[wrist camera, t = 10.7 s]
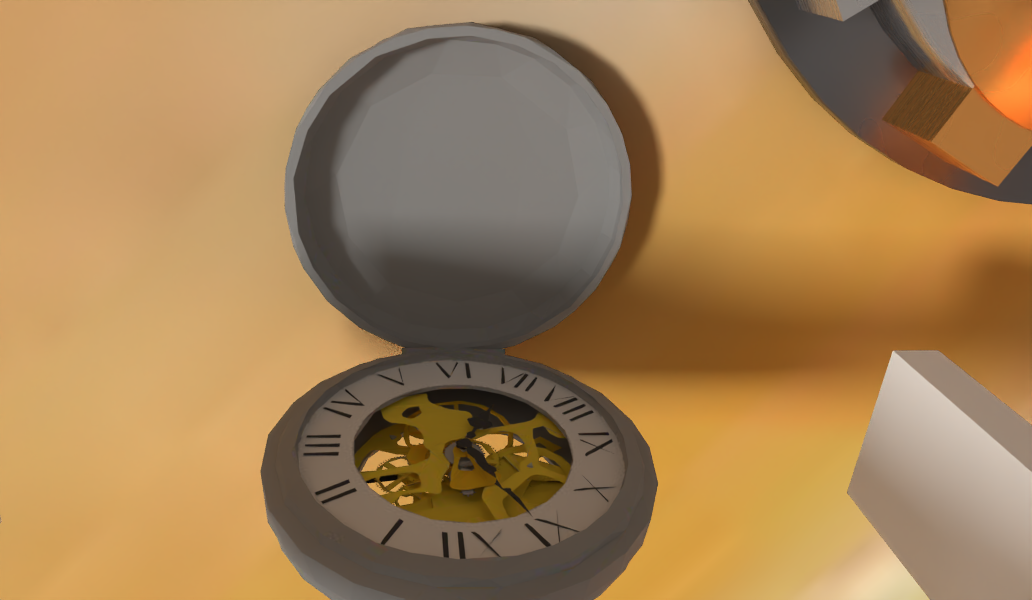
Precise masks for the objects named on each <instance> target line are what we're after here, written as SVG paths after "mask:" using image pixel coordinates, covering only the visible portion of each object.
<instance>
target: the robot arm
mask: <svg viewBox="0 0 1032 600" xmlns="http://www.w3.org/2000/svg"><path fill="white" fill-rule="evenodd" d="M847 493H848V495H849V496H850V497H851V498H852V500H853V501H854V502H855V504H856V505H857V506H858V507H859V509H860V510H861V511H862V513H863V514H864V515H865V516H866V518H867V519H868V520H869V522H870V523H871V524H872V526H873V527H874V528H875V529H876V531H877V532H878V533H879V535H880V536H881V537H882V538H883V540H884V541H885V542H886V544H887V545H888V546H889V547H890V549H891V550H892V551H893V553H894V554H895V555H896V556H897V558H898V559H899V560H900V562H901V563H902V564H903V565H904V567H905V568H906V569H907V571H908V572H909V573H910V574H911V576H912V577H913V578H914V580H915V581H916V582H917V583H918V585H919V586H920V587H921V589H922V590H923V591H924V592H925V594H926V595H927V596H928V598H929V599H930V600H1032V425H1031V424H1030V423H1028V422H1027V421H1026V420H1025V419H1023V418H1022V417H1021V416H1020V415H1018V414H1017V413H1016V412H1015V411H1013V410H1012V409H1011V408H1010V407H1008V406H1007V405H1006V404H1005V403H1003V402H1002V401H1001V400H1000V399H998V398H997V397H996V396H995V395H993V394H992V393H991V392H990V391H988V390H987V389H986V388H985V387H983V386H982V385H981V384H980V383H978V382H977V381H976V380H975V379H973V378H972V377H971V376H970V375H968V374H967V373H966V372H965V371H963V370H962V369H961V368H960V367H958V366H957V365H956V364H955V363H953V362H952V361H951V360H950V359H948V358H947V357H946V356H945V355H943V354H942V353H941V352H940V351H938V350H906V351H893V352H892V355H891V358H890V361H889V364H888V368H887V371H886V374H885V377H884V380H883V383H882V386H881V389H880V392H879V395H878V398H877V401H876V404H875V408H874V411H873V414H872V417H871V420H870V423H869V426H868V429H867V432H866V435H865V438H864V441H863V444H862V448H861V451H860V454H859V457H858V460H857V463H856V466H855V469H854V472H853V475H852V478H851V481H850V485H849V488H848V491H847ZM0 523H1V517H0Z"/></svg>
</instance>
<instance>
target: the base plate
mask: <svg viewBox="0 0 1032 600" xmlns="http://www.w3.org/2000/svg"><path fill="white" fill-rule="evenodd" d="M748 1H749V3H750V5H751V7H752V8H753V10H754V12H755V14H756V16H757V17H758V19H759V21H760V23H761V25H762V26H763V28H764V30H765V32H766V34H767V36H768V37H769V39H770V41H771V43H772V45H773V46H774V48H775V50H776V52H777V53H778V55H779V56H780V57H781V59H782V60H783V61H784V62H785V64H786V65H787V66H788V68H789V69H790V70H791V71H792V73H793V74H794V75H795V77H796V78H797V79H798V81H799V82H800V83H801V84H802V86H803V87H804V88H805V90H806V91H807V92H808V93H809V95H810V96H811V97H812V98H813V99H814V100H815V101H816V102H817V103H818V104H819V105H820V106H821V107H822V108H823V109H825V110H826V111H827V112H828V113H829V114H830V115H831V116H832V117H833V118H834V119H835V120H836V121H837V122H838V123H840V124H841V125H842V126H843V127H844V128H845V129H846V130H847V131H848V132H849V133H851V134H852V135H854V136H855V137H857V138H858V139H860V140H861V141H863V142H864V143H866V144H867V145H869V146H870V147H872V148H873V149H875V150H876V151H878V152H879V153H881V154H882V155H884V156H885V157H887V158H888V159H890V160H891V161H893V162H895V163H897V164H899V165H901V166H903V167H905V168H907V169H909V170H911V171H913V172H916V173H918V174H920V175H922V176H925V177H927V178H929V179H931V180H934V181H936V182H938V183H940V184H943V185H945V186H947V187H949V188H952V189H955V190H959V191H963V192H967V193H971V194H975V195H978V196H982V197H986V198H990V199H994V200H998V201H1004V202H1014V203H1024V204H1032V146H1031V147H1030V149H1029V150H1028V151H1027V152H1026V153H1025V155H1024V156H1023V157H1022V158H1021V159H1020V161H1019V162H1018V163H1017V164H1016V165H1015V167H1014V168H1013V169H1012V170H1011V171H1010V173H1009V174H1008V175H1007V176H1006V177H1005V179H1004V180H1003V181H1002V182H1001V183H1000V185H999V186H998V187H997V186H995V185H993V184H991V183H989V182H987V181H985V180H983V179H981V178H979V177H977V176H975V175H972V174H970V173H968V172H966V171H964V170H962V169H960V168H958V167H956V166H954V165H952V164H949V163H947V162H945V161H944V160H942V159H941V158H939V157H937V156H936V155H934V154H933V153H931V152H930V151H928V150H927V149H925V148H924V147H922V146H921V145H919V144H918V143H916V142H915V141H913V140H912V139H910V138H909V137H907V136H906V135H904V134H903V133H901V132H900V131H898V130H897V129H895V128H894V127H892V126H891V125H889V124H888V123H886V122H885V121H883V120H882V118H883V117H884V116H885V114H886V113H887V112H888V110H889V109H890V108H891V106H892V105H893V104H894V102H895V101H896V100H897V98H898V97H899V96H900V94H901V93H902V92H903V90H904V89H905V88H906V86H907V85H908V84H909V82H910V81H911V80H912V78H913V77H914V76H915V74H916V73H917V72H918V70H917V69H916V68H914V67H913V66H912V64H911V63H910V62H909V61H908V60H907V58H906V57H905V56H904V55H903V54H902V52H901V51H900V50H899V49H898V48H897V46H896V45H895V44H894V43H893V42H892V40H891V39H890V38H889V37H888V36H887V34H886V33H885V32H884V31H883V30H882V28H881V26H880V25H879V23H878V21H877V19H876V18H875V16H874V14H873V13H872V11H871V9H870V8H869V6H868V7H867V8H865V9H863V10H862V11H860V12H858V13H857V14H855V15H853V16H852V17H850V18H848V19H847V20H845V21H840V20H837V19H833V18H829V17H825V16H822V15H818V14H814V13H811V12H807V11H803V10H800V9H799V8H798V6H797V3H796V0H748Z"/></svg>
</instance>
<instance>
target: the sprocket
mask: <svg viewBox="0 0 1032 600" xmlns="http://www.w3.org/2000/svg"><path fill="white" fill-rule="evenodd" d="M796 3H797V6H798V8H799V9H800V10H803V11H807V12H811V13H814V14H818V15H822V16H825V17H829V18H833V19H837V20H840V21H845V20H847V19H848V18H850V17H852V16H853V15H855V14H857V13H858V12H860V11H862V10H863V9H865V8H867V7H868V6H869V8H870V9H871V11H872V13H873V14H874V16H875V18H876V19H877V21H878V23H879V25H880V26H881V28H882V30H883V31H884V32H885V33H886V34H887V36H888V37H889V38H890V39H891V40H892V42H893V43H894V44H895V45H896V46H897V48H898V49H899V50H900V51H901V52H902V54H903V55H904V56H905V57H906V58H907V60H908V61H909V62H910V63H911V64H912V66H913V67H914V68H916V69H917V70H918V72H917V73H916V74H915V76H914V77H913V78H912V80H911V81H910V82H909V84H908V85H907V86H906V88H905V89H904V90H903V92H902V93H901V94H900V96H899V97H898V98H897V100H896V101H895V102H894V104H893V105H892V106H891V108H890V109H889V110H888V112H887V113H886V114H885V116H884V117H883V118H882V120H883V121H885V122H886V123H888V124H889V125H891V126H892V127H894V128H895V129H897V130H898V131H900V132H901V133H903V134H904V135H906V136H907V137H909V138H910V139H912V140H913V141H915V142H916V143H918V144H919V145H921V146H922V147H924V148H925V149H927V150H928V151H930V152H931V153H933V154H934V155H936V156H937V157H939V158H941V159H942V160H944V161H945V162H947V163H949V164H952V165H954V166H956V167H958V168H960V169H962V170H964V171H966V172H968V173H970V174H972V175H975V176H977V177H979V178H981V179H983V180H985V181H987V182H989V183H991V184H993V185H995V186H997V187H998V186H999V185H1000V183H1001V182H1002V181H1003V180H1004V179H1005V177H1006V176H1007V175H1008V174H1009V173H1010V171H1011V170H1012V169H1013V168H1014V167H1015V165H1016V164H1017V163H1018V162H1019V161H1020V159H1021V158H1022V157H1023V156H1024V155H1025V153H1026V152H1027V151H1028V150H1029V149H1030V147H1031V146H1032V0H796Z"/></svg>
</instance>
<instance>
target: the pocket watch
mask: <svg viewBox="0 0 1032 600" xmlns="http://www.w3.org/2000/svg"><path fill="white" fill-rule="evenodd" d="M631 197H632V194H631V175H630V163H629V159H628V155H627V151H626V147H625V144H624V140H623V136H622V133H621V131H620V129H619V127H618V125H617V123H616V121H615V119H614V117H613V115H612V113H611V111H610V109H609V107H608V105H607V103H606V102H605V100H604V99H603V97H602V96H601V95H600V93H599V92H598V90H597V89H596V87H595V86H594V85H593V83H592V82H591V80H590V79H589V78H587V77H586V76H585V75H584V74H582V73H581V72H580V71H579V70H577V69H576V68H575V67H574V66H572V65H571V64H570V63H569V62H567V61H566V60H565V59H564V58H562V57H561V56H560V55H559V54H557V53H556V52H555V51H554V50H552V49H551V48H549V47H548V46H546V45H545V44H543V43H542V42H540V41H538V40H537V39H535V38H534V37H530V36H526V35H522V34H518V33H514V32H509V31H506V30H503V29H500V28H496V27H489V26H485V25H481V24H477V23H473V22H468V23H456V24H445V25H433V26H425V27H417V28H409V29H405V30H403V31H401V32H399V33H397V34H395V35H394V36H392V37H390V38H387V39H384V40H382V41H380V42H379V43H377V44H376V45H374V46H372V47H371V48H369V49H367V50H365V51H363V52H361V53H359V54H357V55H355V56H354V57H352V58H350V59H349V60H348V61H347V62H346V63H345V64H344V65H343V66H342V67H341V68H340V69H339V70H338V71H337V72H336V73H335V74H334V75H333V76H332V77H331V78H330V79H329V80H328V81H327V82H326V83H325V84H324V85H323V86H322V87H321V88H320V89H319V90H318V92H317V93H316V95H315V96H314V98H313V100H312V101H311V103H310V104H309V106H308V107H307V109H306V111H305V113H304V115H303V117H302V119H301V121H300V123H299V125H298V126H297V128H296V132H295V135H294V139H293V143H292V147H291V151H290V155H289V158H288V162H287V166H286V173H285V212H286V216H287V220H288V225H289V229H290V234H291V238H292V242H293V247H294V249H295V251H296V253H297V255H298V257H299V260H300V262H301V264H302V266H303V268H304V270H305V271H306V272H307V274H308V275H309V277H310V278H311V279H312V281H313V282H314V284H315V285H316V286H317V288H318V289H319V290H320V292H321V293H322V295H323V296H324V297H325V299H326V300H327V301H328V302H329V303H330V304H332V305H333V306H334V307H335V308H336V309H338V310H339V311H340V312H341V313H342V314H344V315H345V316H346V317H347V318H349V319H350V320H351V321H352V322H353V323H355V324H356V325H357V326H358V327H360V328H362V329H364V330H366V331H368V332H370V333H372V334H374V335H376V336H378V337H380V338H382V339H384V340H386V341H389V342H392V343H394V344H397V345H399V346H402V347H405V348H402V354H401V355H395V356H390V357H385V358H379V359H376V360H373V361H371V362H367V363H363V364H360V365H357V366H355V367H353V368H351V369H349V370H346V371H344V372H342V373H340V374H338V375H335V376H333V377H331V378H329V379H326V380H324V381H322V382H320V383H319V384H317V385H316V386H315V387H313V388H312V389H311V390H310V391H308V392H307V393H306V394H304V395H303V396H302V397H300V398H299V399H298V400H296V401H295V402H294V403H293V404H292V405H291V406H290V408H289V409H288V410H287V412H286V413H285V414H284V415H283V417H282V418H281V419H280V420H279V422H278V423H277V424H276V426H275V427H274V428H273V429H272V431H271V432H270V433H269V435H268V439H267V444H266V448H265V453H264V458H263V463H262V467H261V478H262V485H263V492H264V499H265V505H266V512H267V519H268V523H269V525H270V527H271V528H272V530H273V531H274V533H275V535H276V536H277V538H278V541H279V543H280V546H281V549H282V551H283V552H284V554H285V555H286V556H287V558H288V559H289V560H290V562H291V563H292V564H293V566H294V567H295V568H296V570H297V571H298V572H299V574H300V575H301V576H302V578H303V579H304V580H305V581H307V582H308V583H309V584H311V585H312V586H314V587H315V588H316V589H318V590H319V591H320V592H322V593H323V594H324V595H326V596H327V597H328V598H330V599H331V600H594V599H595V598H597V597H598V596H600V595H601V594H602V593H603V592H604V591H605V590H606V589H607V588H608V587H609V586H610V585H611V584H612V583H613V582H614V581H615V580H616V579H617V578H618V577H619V576H620V575H621V574H622V573H623V572H624V570H625V569H626V567H627V565H628V563H629V561H630V560H631V559H632V558H633V556H634V555H635V554H636V552H637V551H638V550H639V549H640V547H641V546H642V544H643V541H644V538H645V535H646V532H647V529H648V526H649V523H650V520H651V516H652V511H653V506H654V501H655V496H656V491H657V486H658V481H657V477H656V473H655V468H654V464H653V460H652V456H651V452H650V447H649V446H648V444H647V443H646V441H645V440H644V438H643V437H642V435H641V434H640V432H639V431H638V429H637V428H636V426H635V425H634V423H633V422H632V420H630V419H629V418H628V417H627V416H626V415H625V414H624V413H623V412H622V411H621V410H619V409H618V408H617V407H616V406H615V405H614V404H613V403H612V402H611V401H610V400H608V399H607V398H606V397H605V396H604V395H603V394H602V393H600V392H598V391H596V390H594V389H593V388H591V387H589V386H587V385H585V384H583V383H581V382H579V381H578V380H576V379H574V378H573V377H571V376H569V375H566V374H564V373H562V372H560V371H558V370H555V369H552V368H550V367H547V366H545V365H543V364H540V363H536V362H532V361H528V360H524V359H520V358H516V357H512V356H508V355H505V349H503V348H507V347H511V346H515V345H517V344H520V343H522V342H524V341H526V340H528V339H530V338H532V337H534V336H536V335H538V334H540V333H542V332H544V331H546V330H549V329H551V328H553V327H555V326H556V325H557V324H558V323H560V322H561V321H562V320H564V319H565V318H566V317H567V316H569V315H570V314H571V313H573V312H574V311H575V310H576V309H577V308H578V307H579V306H580V305H581V304H582V303H583V302H584V301H585V300H586V299H587V298H588V297H589V296H590V295H591V294H592V293H593V292H594V291H595V289H596V288H597V286H598V285H599V283H600V281H601V280H602V278H603V277H604V275H605V273H606V272H607V270H608V269H609V267H610V265H611V264H612V262H613V260H614V259H615V257H616V255H617V253H618V250H619V248H620V246H621V242H622V239H623V236H624V232H625V229H626V226H627V222H628V217H629V210H630V204H631ZM487 434H502V435H507V436H508V445H507V446H506V447H505V448H504V449H502V450H501V449H500V451H498V452H496V450H495V452H496V453H495V452H494V451H493V450H492V449H494V448H491V446H489V444H488V445H487V444H484V443H482V442H479V441H475V440H476V439H477V438H480V437H482V436H484V435H487ZM409 435H411V436H413V437H415V438H419V439H424V442H423V444H420V443H419V444H420V445H412V444H410V440H409ZM402 437H404V440H405V443H406V445H407V446H408V447H407V446H400V445H398V444H397V442H398V441H399V440H400V439H401V438H402ZM513 438H514V439H516V440H517V441H519V442H521V443H523V444H522V445H520V446H516V445H515V447H513ZM474 439H475V440H474ZM479 440H480V439H479ZM476 443H477V444H480V445H482V446H483V447H484V448H485V450H486V451H487V452H488V453H489V454H490V455H488V456H487V458H486V459H485V457H484V456H485V455H484V454H485V453H483V451H481V450H482V449H480V448H481V447H482V446H481V447H479V445H476ZM379 450H380V451H384V452H389V453H393V454H401V455H404V456H406V457H404V456H403V457H401V456H400V457H397V458H391V459H390V460H389V459H388V460H389V461H387V462H384V464H383V465H381V466H380V465H379V466H380V467H377V471H367V472H361V471H362V469H363V467H364V465H365V463H366V461H367V460H368V458H369V457H371V456H372V455H373V454H375V453H376V452H378V451H379ZM521 452H526V453H527V457H522V456H518V455H515V454H514V453H521ZM540 457H544V458H545V460H546V461H547V462H548V463H549V464H548V463H545V462H541V461H539V458H540ZM400 458H401V459H405V460H406V459H407V462H408V464H409V466H403V467H395V466H393V465H392V464H390V463H389V462H391V461H394V460H397V459H400ZM385 461H386V460H385ZM381 464H382V463H381ZM383 466H384V467H386V468H388V469H385V470H382V468H383ZM444 475H447V477H446V476H444ZM448 477H449V478H448ZM442 479H443V480H442ZM393 480H395V481H394V482H392V483H391V484H389V485H388V486H386V487H384V485H383V484H382V483H381V482H384V481H393ZM374 482H378V483H379V485H380V486H381V487H379V488H382V489H383V490H384V491H387V492H389V493H388V494H384V495H379V494H377V493H376V492H375V491H373V490H372V489H371V488H370V487H369V486H368V484H367V483H374ZM400 482H403V483H404V484H405V485H406V486H405V485H402V486H403V487H402V488H401V487H400V489H399V491H397V492H392V491H390V490H391V489H392V488H394V487H395V486H396V485H398V484H399V483H400ZM379 485H378V486H379ZM378 486H377V487H378ZM382 489H381V490H382ZM403 489H404V490H406V491H403ZM384 491H383V492H384ZM387 492H386V493H387ZM426 492H429V493H426ZM409 493H411V494H409ZM400 496H404V497H408V496H413V499H414V501H413V503H412V504H407V505H402V506H400V505H399V503H398V502H397V501H398V499H399V497H400ZM394 501H395V502H394ZM392 503H395V504H396V506H394V505H395V504H393V505H392Z"/></svg>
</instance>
